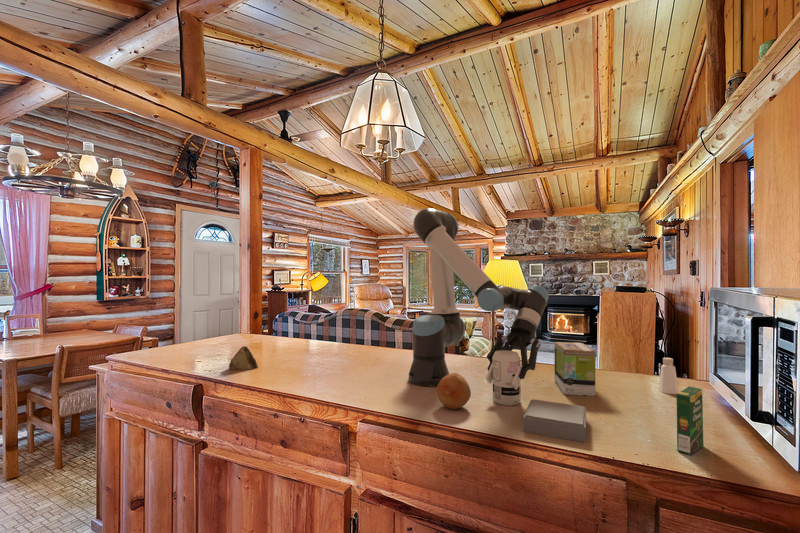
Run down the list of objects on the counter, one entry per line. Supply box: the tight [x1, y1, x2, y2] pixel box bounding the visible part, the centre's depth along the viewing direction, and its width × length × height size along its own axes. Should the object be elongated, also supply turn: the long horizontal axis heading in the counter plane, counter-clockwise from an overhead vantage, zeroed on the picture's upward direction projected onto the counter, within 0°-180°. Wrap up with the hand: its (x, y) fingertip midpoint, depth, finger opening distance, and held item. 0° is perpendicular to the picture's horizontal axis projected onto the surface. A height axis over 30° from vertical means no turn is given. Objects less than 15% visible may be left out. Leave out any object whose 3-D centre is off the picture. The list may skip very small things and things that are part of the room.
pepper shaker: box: [658, 357, 680, 395], centre depth 123 cm, size 5×5×11 cm
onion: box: [436, 372, 472, 410], centre depth 110 cm, size 10×10×10 cm
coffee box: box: [675, 386, 705, 457], centre depth 84 cm, size 8×3×13 cm, turn 125°
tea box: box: [554, 341, 597, 397], centre depth 127 cm, size 15×10×15 cm, turn 168°
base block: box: [522, 398, 587, 444], centre depth 96 cm, size 14×14×4 cm
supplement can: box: [492, 350, 522, 406], centre depth 115 cm, size 8×8×15 cm
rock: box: [228, 345, 259, 371], centre depth 157 cm, size 11×9×10 cm
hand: (500, 383), depth 112 cm, fingers closed on supplement can, 8 cm apart
